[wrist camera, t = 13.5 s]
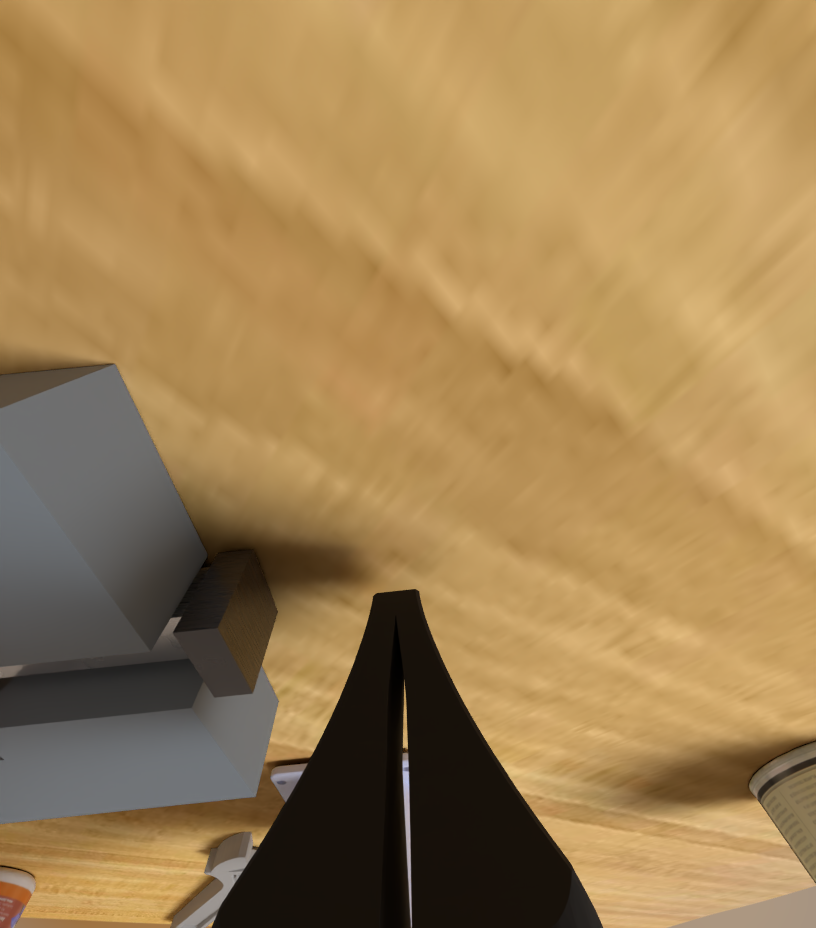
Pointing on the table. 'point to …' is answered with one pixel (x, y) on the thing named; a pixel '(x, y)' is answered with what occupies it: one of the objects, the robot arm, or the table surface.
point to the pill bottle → (14, 895)
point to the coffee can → (791, 800)
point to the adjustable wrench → (217, 881)
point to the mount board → (103, 615)
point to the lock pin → (204, 629)
